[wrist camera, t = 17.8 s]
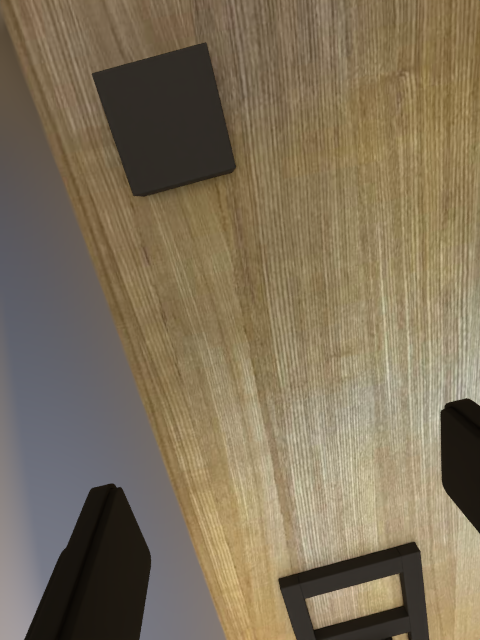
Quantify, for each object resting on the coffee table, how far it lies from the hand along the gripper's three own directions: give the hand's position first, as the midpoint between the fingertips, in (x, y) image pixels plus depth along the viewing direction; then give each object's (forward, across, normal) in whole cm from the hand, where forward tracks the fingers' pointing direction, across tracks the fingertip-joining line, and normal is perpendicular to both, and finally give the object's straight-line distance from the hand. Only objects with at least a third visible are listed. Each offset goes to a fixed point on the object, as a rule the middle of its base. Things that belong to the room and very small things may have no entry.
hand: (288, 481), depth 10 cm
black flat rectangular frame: (+16, -5, +40) cm, 43 cm away
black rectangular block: (+16, +2, -12) cm, 20 cm away
